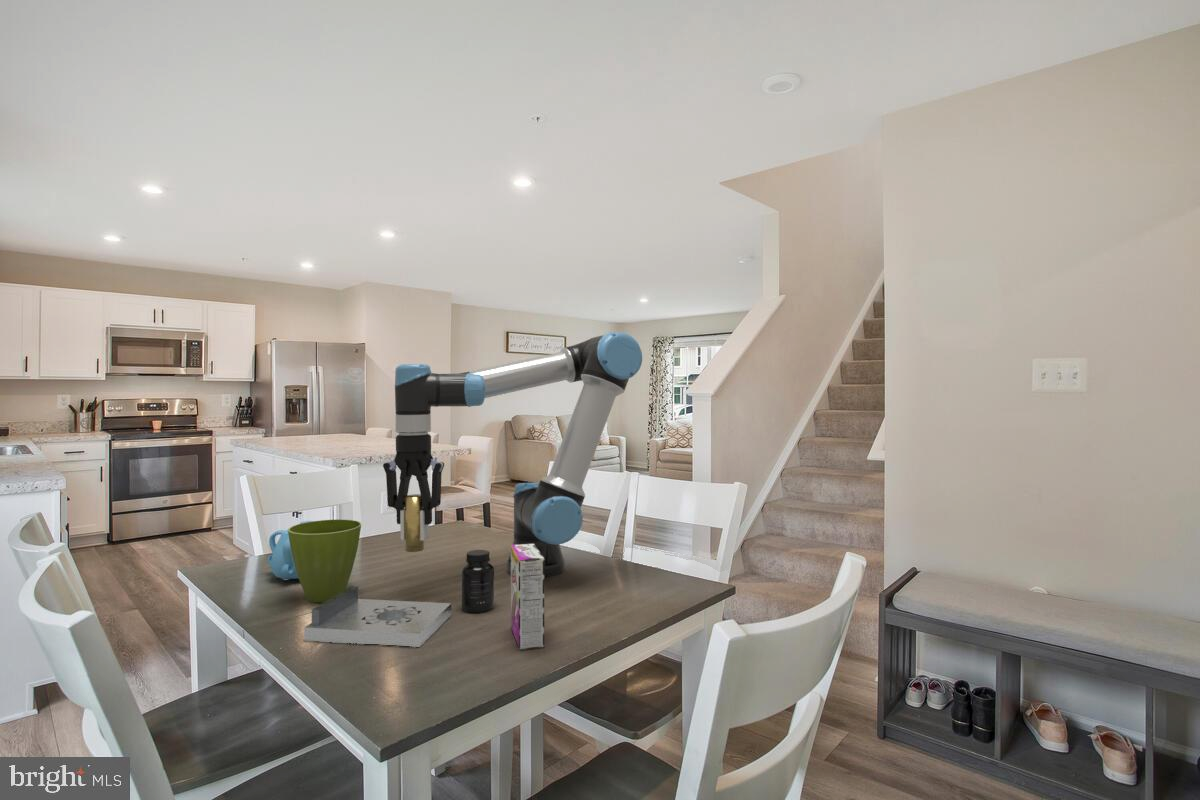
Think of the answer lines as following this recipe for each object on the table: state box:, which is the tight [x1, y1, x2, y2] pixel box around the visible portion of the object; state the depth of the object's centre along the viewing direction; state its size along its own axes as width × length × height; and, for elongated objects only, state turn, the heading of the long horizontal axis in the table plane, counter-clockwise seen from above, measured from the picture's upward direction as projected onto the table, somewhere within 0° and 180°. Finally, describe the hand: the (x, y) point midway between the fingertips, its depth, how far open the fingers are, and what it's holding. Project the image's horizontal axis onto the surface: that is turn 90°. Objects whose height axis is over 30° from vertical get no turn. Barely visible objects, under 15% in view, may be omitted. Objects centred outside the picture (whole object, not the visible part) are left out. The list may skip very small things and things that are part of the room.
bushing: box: [404, 493, 425, 553], centre depth 131 cm, size 4×4×12 cm
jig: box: [303, 585, 452, 648], centre depth 115 cm, size 22×16×6 cm
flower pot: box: [287, 518, 362, 603], centre depth 132 cm, size 15×15×16 cm
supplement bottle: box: [461, 549, 495, 614], centre depth 126 cm, size 7×7×12 cm
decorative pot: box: [267, 520, 313, 580], centre depth 149 cm, size 16×16×14 cm
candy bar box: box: [510, 544, 545, 651], centre depth 111 cm, size 11×5×16 cm, turn 17°
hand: (414, 538), depth 131 cm, fingers closed on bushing, 4 cm apart
